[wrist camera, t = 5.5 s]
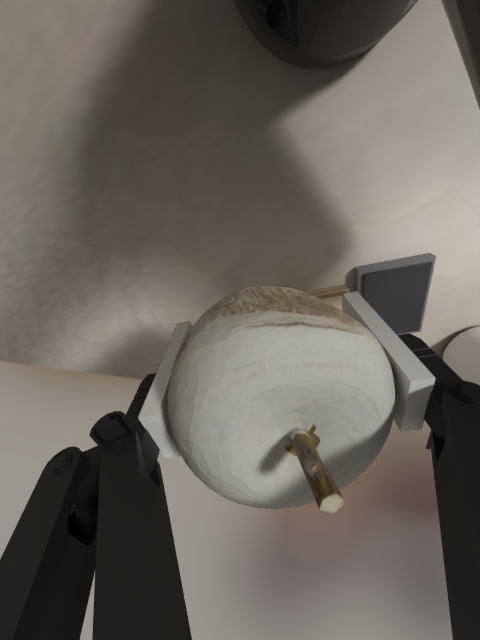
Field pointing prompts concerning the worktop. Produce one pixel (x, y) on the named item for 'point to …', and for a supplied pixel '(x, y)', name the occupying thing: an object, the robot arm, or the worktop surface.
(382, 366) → the decorative object
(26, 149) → the worktop surface
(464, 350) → the potion bottle
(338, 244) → the worktop surface
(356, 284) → the ink pad
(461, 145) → the worktop surface
